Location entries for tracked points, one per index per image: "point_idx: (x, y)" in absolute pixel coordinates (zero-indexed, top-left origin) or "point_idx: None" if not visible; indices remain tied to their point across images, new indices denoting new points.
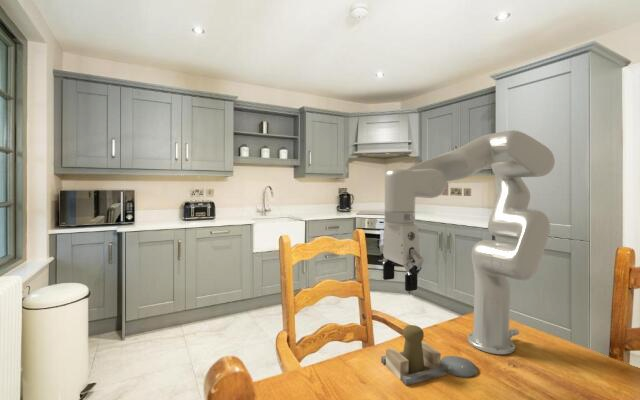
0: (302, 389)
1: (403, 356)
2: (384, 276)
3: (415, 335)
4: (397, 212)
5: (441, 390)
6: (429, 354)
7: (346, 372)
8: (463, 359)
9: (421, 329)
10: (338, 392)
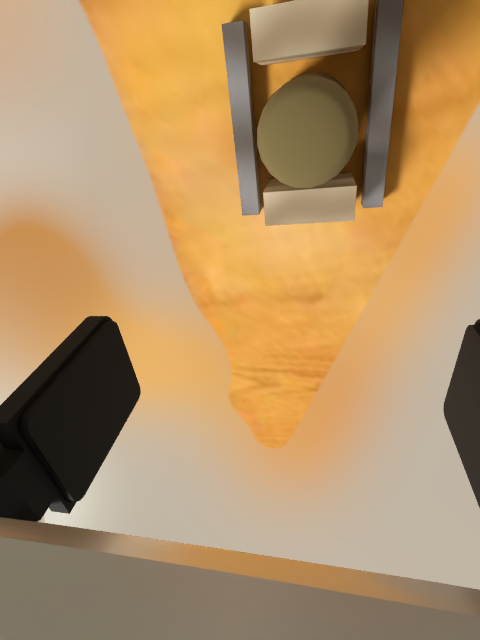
0: (293, 404)
1: (326, 189)
2: (124, 412)
3: (350, 156)
4: None
5: (459, 95)
6: (340, 49)
7: (265, 315)
8: None
9: (332, 97)
10: (329, 356)
